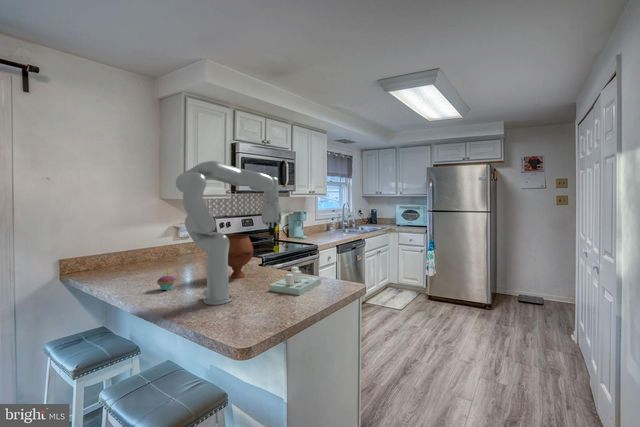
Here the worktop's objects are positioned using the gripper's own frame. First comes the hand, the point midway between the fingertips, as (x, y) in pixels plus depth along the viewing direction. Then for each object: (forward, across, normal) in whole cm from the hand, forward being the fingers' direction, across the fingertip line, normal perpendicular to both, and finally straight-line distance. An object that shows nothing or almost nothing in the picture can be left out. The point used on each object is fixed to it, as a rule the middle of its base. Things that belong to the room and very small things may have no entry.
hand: (272, 235), depth 174 cm
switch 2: (+24, +8, +10) cm, 27 cm away
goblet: (+27, -30, +6) cm, 41 cm away
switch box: (+27, +13, +2) cm, 30 cm away
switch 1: (+24, +14, -6) cm, 28 cm away
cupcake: (+27, -46, -30) cm, 61 cm away
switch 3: (+24, +14, +2) cm, 28 cm away
